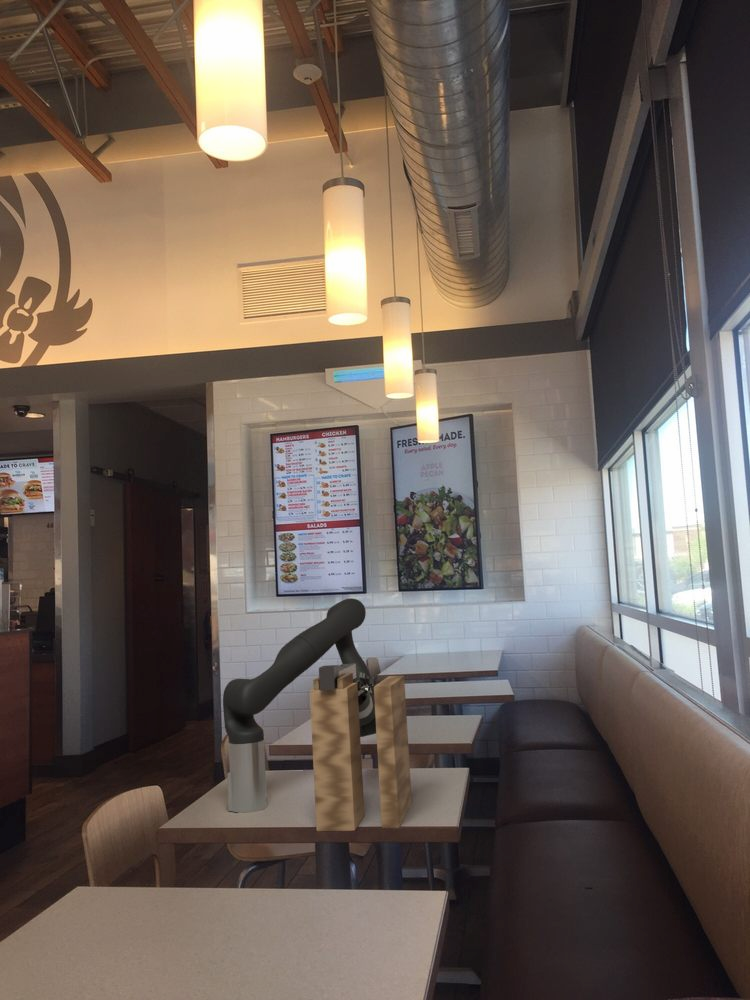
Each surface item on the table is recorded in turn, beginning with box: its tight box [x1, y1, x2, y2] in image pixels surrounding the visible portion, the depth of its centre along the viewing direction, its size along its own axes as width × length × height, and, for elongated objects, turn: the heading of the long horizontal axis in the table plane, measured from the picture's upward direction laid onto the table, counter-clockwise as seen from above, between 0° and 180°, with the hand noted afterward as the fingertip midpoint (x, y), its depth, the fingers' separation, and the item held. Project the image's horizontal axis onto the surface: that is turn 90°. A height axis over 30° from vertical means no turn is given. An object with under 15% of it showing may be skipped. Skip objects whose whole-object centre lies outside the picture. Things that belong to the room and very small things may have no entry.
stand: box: [309, 673, 413, 832], centre depth 204 cm, size 19×24×34 cm
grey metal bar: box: [318, 664, 356, 690], centre depth 206 cm, size 25×4×5 cm, turn 170°
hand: (344, 675), depth 213 cm, fingers open, 8 cm apart
